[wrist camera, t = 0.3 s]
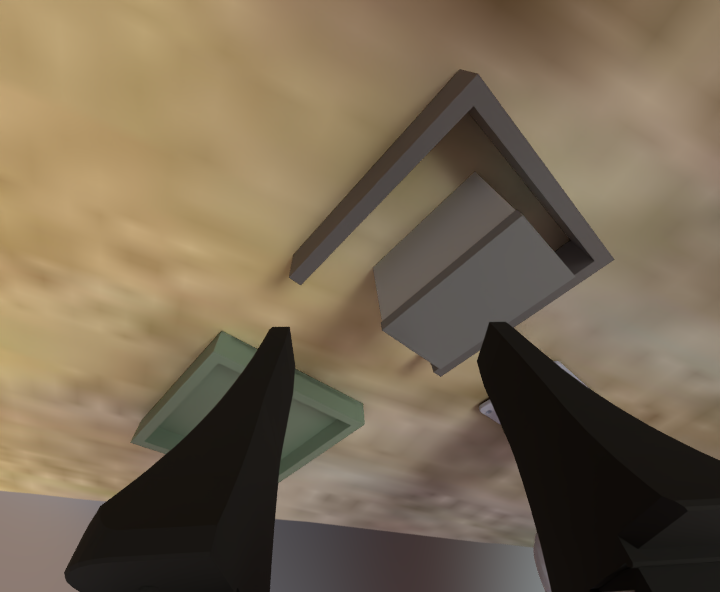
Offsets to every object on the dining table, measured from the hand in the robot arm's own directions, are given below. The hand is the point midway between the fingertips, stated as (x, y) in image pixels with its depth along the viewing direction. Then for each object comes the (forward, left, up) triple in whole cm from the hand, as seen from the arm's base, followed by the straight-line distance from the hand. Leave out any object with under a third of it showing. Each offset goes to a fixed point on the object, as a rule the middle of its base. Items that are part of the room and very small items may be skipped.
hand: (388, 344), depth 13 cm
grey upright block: (-4, -2, -10) cm, 11 cm away
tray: (-4, +19, -10) cm, 22 cm away
